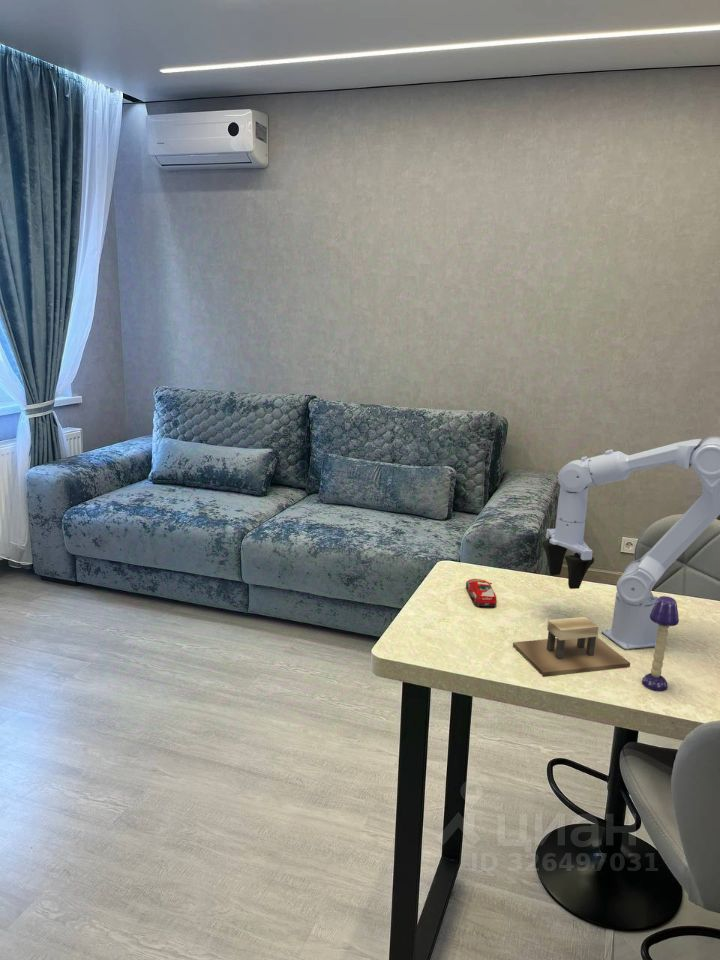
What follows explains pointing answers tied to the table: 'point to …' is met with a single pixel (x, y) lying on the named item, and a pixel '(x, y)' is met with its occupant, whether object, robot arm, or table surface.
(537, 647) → the walnut board
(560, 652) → the oak stool
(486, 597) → the race car
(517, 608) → the table surface
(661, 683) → the toy lamp
